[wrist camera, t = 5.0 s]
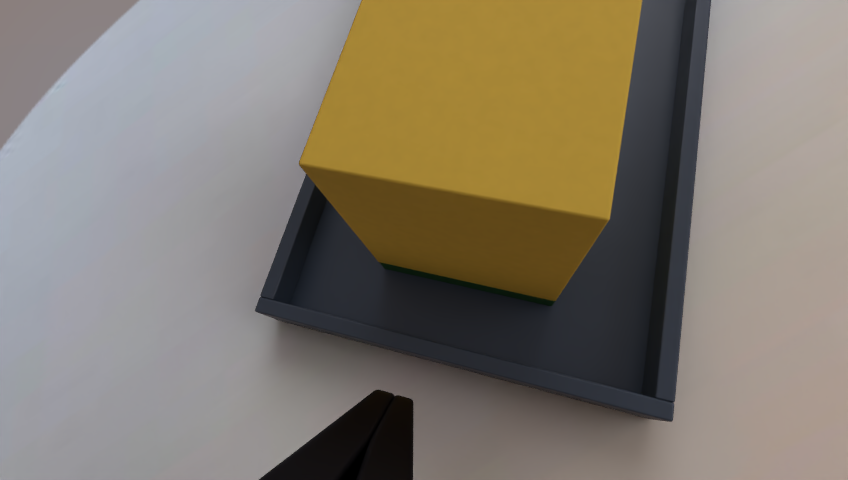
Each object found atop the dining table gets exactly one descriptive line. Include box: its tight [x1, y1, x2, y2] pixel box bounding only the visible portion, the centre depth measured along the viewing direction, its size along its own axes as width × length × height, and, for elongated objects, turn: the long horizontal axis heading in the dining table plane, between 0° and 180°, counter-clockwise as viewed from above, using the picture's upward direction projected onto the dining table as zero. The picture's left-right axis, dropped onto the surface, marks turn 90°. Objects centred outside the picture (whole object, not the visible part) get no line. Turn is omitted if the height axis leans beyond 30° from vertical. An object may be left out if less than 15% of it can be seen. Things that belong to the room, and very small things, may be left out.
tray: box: [255, 0, 711, 422], centre depth 20 cm, size 25×15×2 cm, turn 165°
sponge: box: [299, 0, 642, 306], centre depth 15 cm, size 8×7×9 cm
